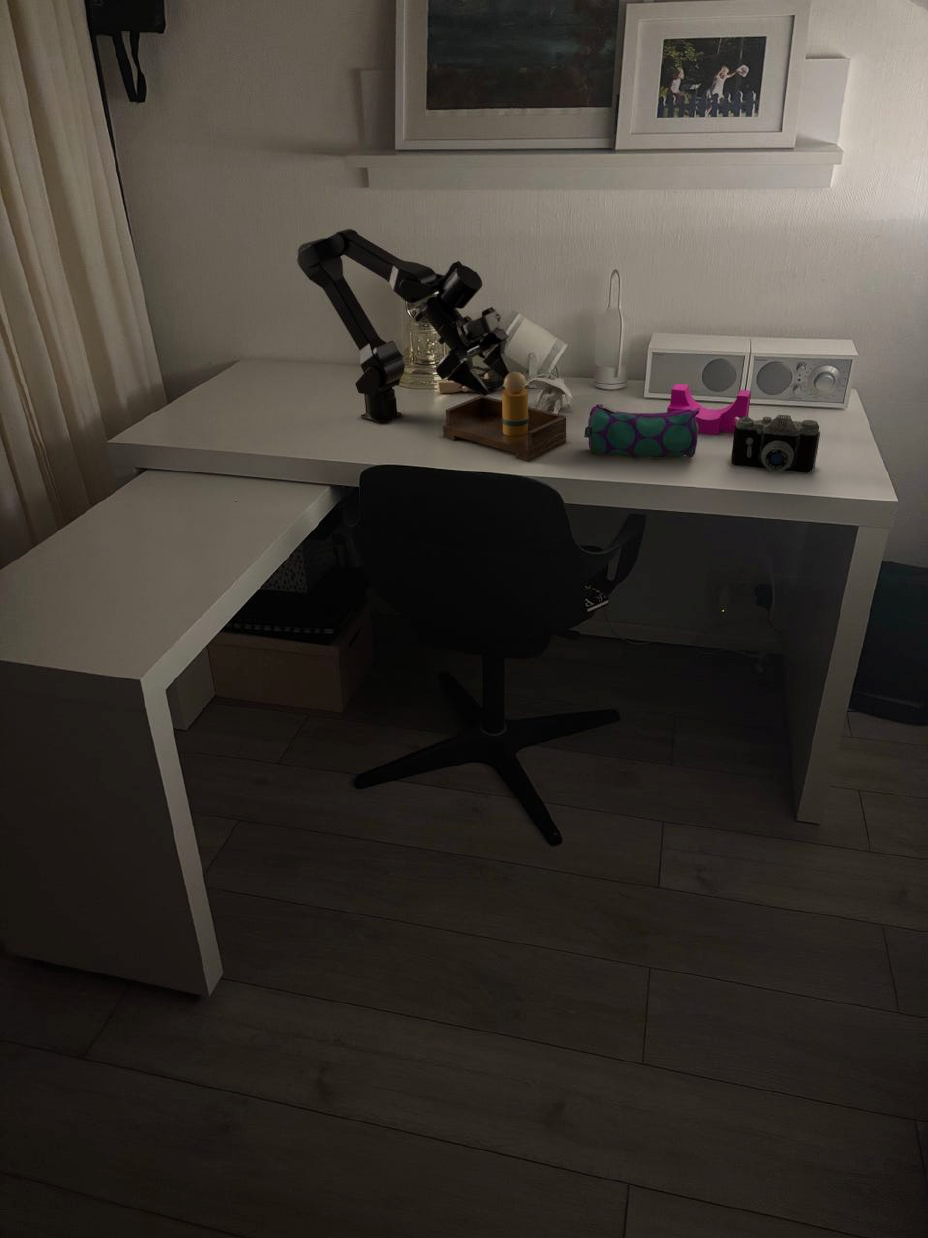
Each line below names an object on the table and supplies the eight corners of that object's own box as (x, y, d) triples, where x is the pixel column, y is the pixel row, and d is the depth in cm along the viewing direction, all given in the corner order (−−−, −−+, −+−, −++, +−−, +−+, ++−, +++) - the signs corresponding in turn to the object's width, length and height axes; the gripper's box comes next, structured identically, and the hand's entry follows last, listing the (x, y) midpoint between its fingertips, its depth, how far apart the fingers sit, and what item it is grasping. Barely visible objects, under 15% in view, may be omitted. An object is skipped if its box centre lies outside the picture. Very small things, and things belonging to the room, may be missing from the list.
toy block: (665, 429, 196) (668, 393, 192) (673, 418, 201) (675, 383, 197) (741, 437, 191) (745, 400, 187) (746, 426, 196) (751, 390, 192)
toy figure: (443, 401, 217) (508, 390, 219) (440, 373, 214) (506, 362, 216) (438, 395, 223) (501, 385, 225) (434, 367, 221) (498, 357, 223)
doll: (496, 432, 192) (495, 373, 185) (513, 424, 195) (512, 366, 189) (517, 438, 189) (516, 377, 182) (534, 430, 192) (533, 370, 186)
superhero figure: (570, 430, 200) (583, 390, 216) (569, 388, 195) (582, 350, 210) (521, 429, 203) (537, 389, 218) (519, 387, 197) (535, 349, 213)
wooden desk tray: (443, 437, 197) (441, 411, 194) (481, 420, 205) (480, 394, 202) (528, 461, 185) (528, 434, 182) (566, 442, 192) (566, 416, 189)
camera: (727, 471, 177) (733, 419, 172) (732, 458, 182) (738, 406, 177) (812, 480, 172) (820, 427, 167) (814, 466, 178) (823, 413, 172)
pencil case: (583, 461, 184) (584, 412, 179) (588, 443, 191) (589, 396, 186) (695, 466, 180) (700, 416, 175) (696, 448, 187) (700, 400, 182)
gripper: (445, 308, 176) (499, 375, 177) (498, 285, 189) (548, 348, 190) (413, 346, 184) (464, 411, 185) (466, 322, 197) (514, 383, 198)
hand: (499, 387), depth 189 cm, fingers open, 9 cm apart
